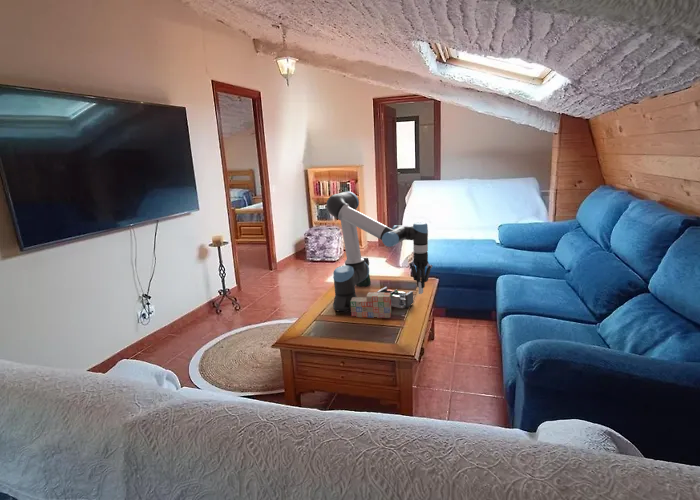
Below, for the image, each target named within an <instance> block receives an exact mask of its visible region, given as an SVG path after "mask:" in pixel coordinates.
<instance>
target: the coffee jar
mask: <svg viewBox="0 0 700 500" xmlns="http://www.w3.org/2000/svg"><path fill="white" fill-rule="evenodd" d="M362 258H363V259H364V262H366V264H367V265H368V267H369V265H370V260H369V257H362ZM369 268H370V267H369ZM371 283H372V282H371V276H370V274H369V275H368V277H367V278H366V279H365V280H364V281H362V282H360V283H358V284H357V285H356V286H357V287H368V286H370V285H371Z"/></svg>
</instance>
